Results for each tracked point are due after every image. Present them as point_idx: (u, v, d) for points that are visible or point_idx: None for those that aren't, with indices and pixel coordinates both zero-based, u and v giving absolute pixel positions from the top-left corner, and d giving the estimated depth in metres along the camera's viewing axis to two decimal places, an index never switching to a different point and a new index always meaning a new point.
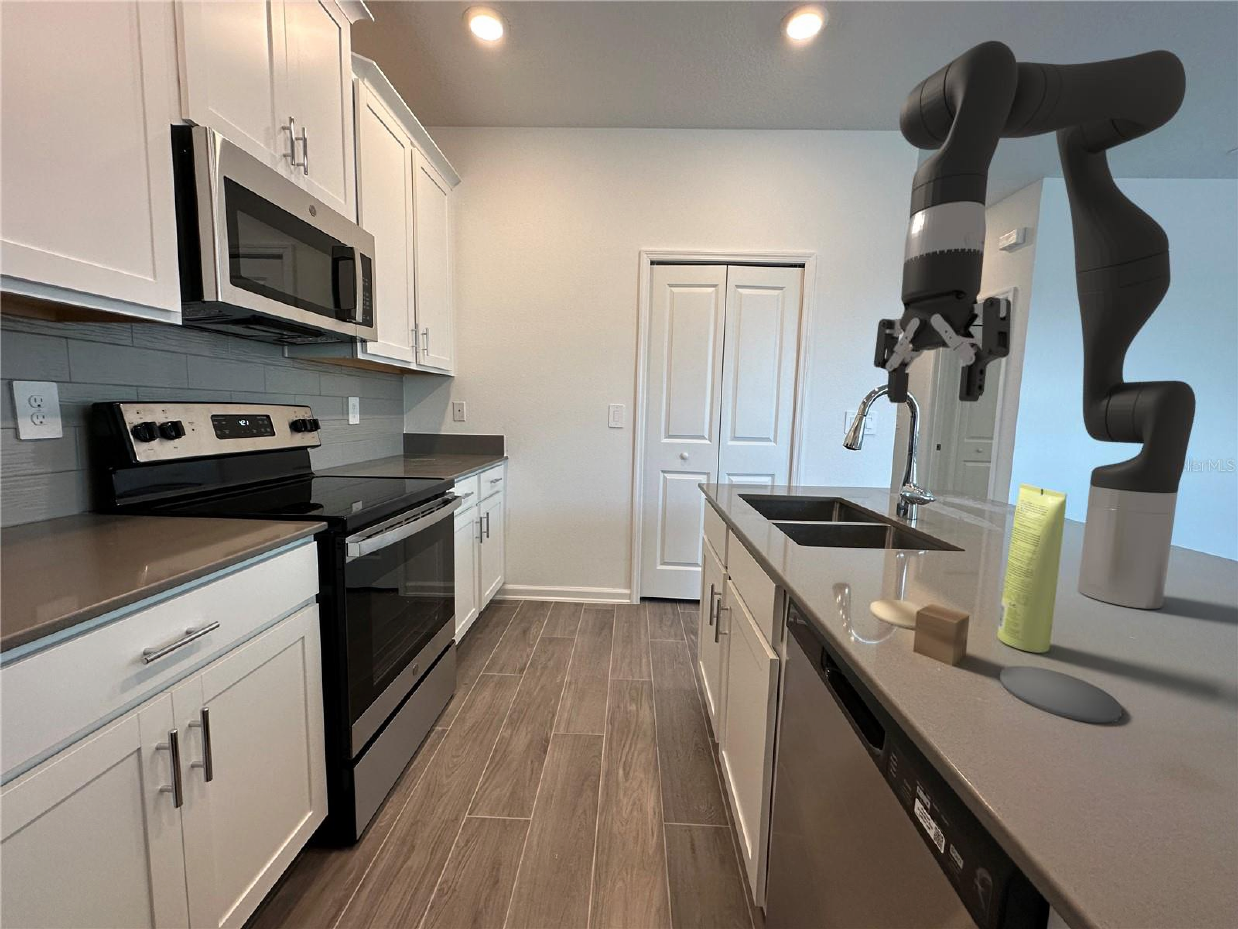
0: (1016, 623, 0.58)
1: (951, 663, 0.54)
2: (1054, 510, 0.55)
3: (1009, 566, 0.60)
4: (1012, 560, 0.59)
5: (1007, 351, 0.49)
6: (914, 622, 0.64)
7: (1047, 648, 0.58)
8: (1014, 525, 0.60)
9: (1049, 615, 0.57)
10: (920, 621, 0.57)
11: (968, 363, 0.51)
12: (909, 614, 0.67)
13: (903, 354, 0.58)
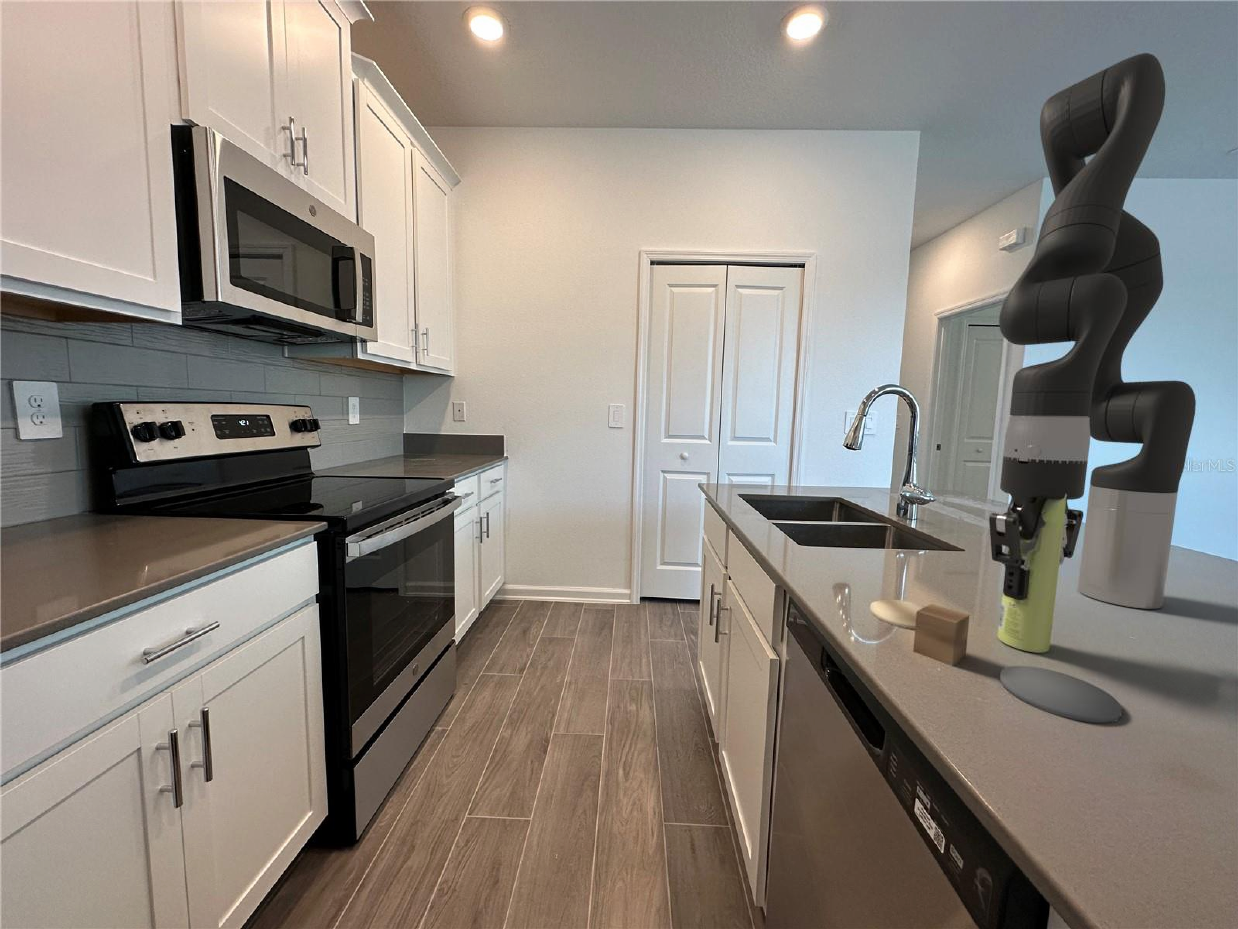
0: (1016, 623, 0.58)
1: (951, 663, 0.54)
2: (1054, 510, 0.55)
3: None
4: None
5: None
6: (914, 622, 0.64)
7: (1047, 648, 0.58)
8: None
9: (1049, 615, 0.57)
10: (920, 621, 0.57)
11: (1059, 563, 0.58)
12: (909, 614, 0.67)
13: None
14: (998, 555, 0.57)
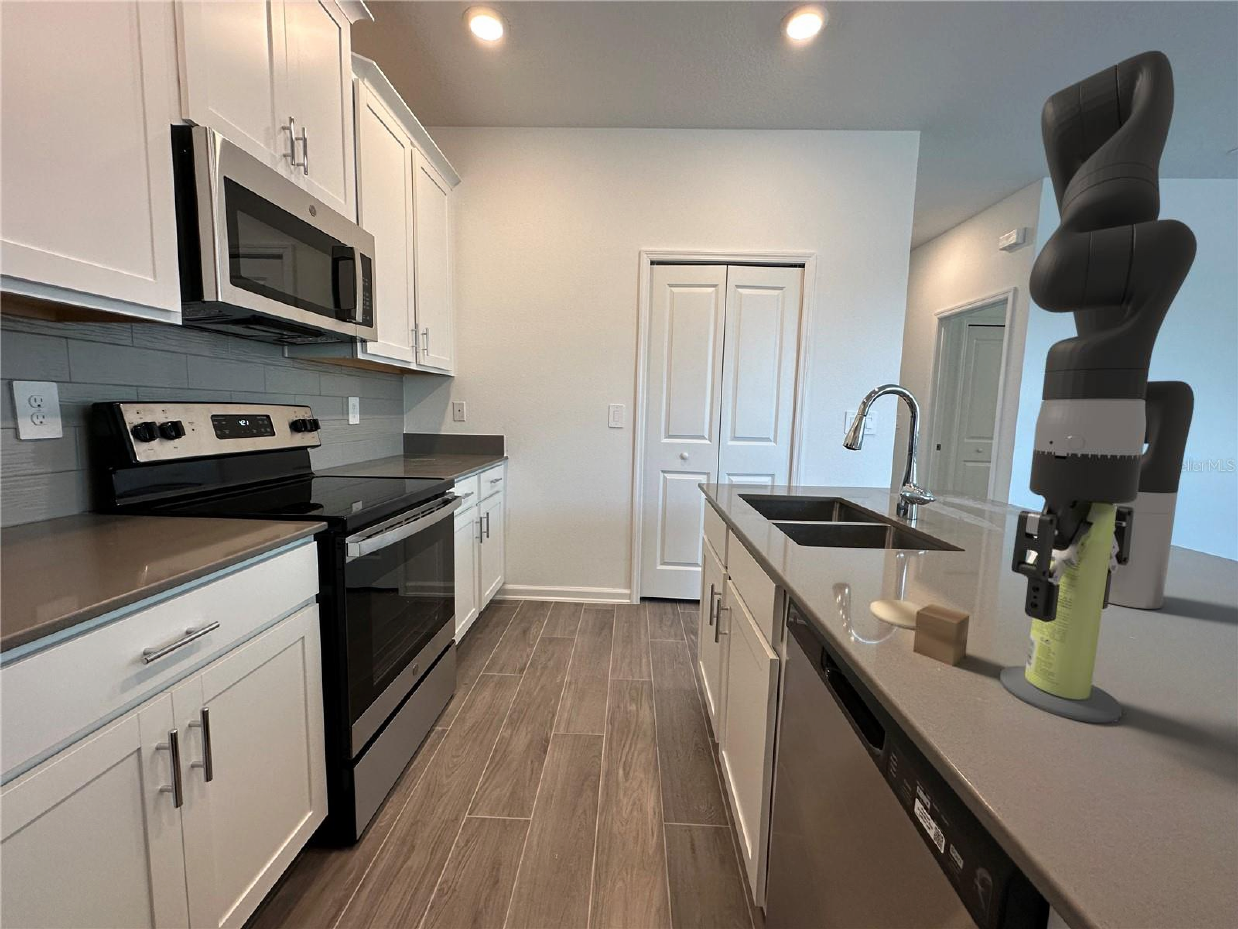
0: (1050, 663, 0.48)
1: (951, 663, 0.54)
2: (1100, 526, 0.44)
3: None
4: None
5: None
6: (914, 622, 0.64)
7: (1088, 694, 0.47)
8: None
9: (1091, 654, 0.46)
10: (920, 621, 0.57)
11: (1113, 572, 0.48)
12: (909, 614, 0.67)
13: None
14: (1020, 564, 0.45)
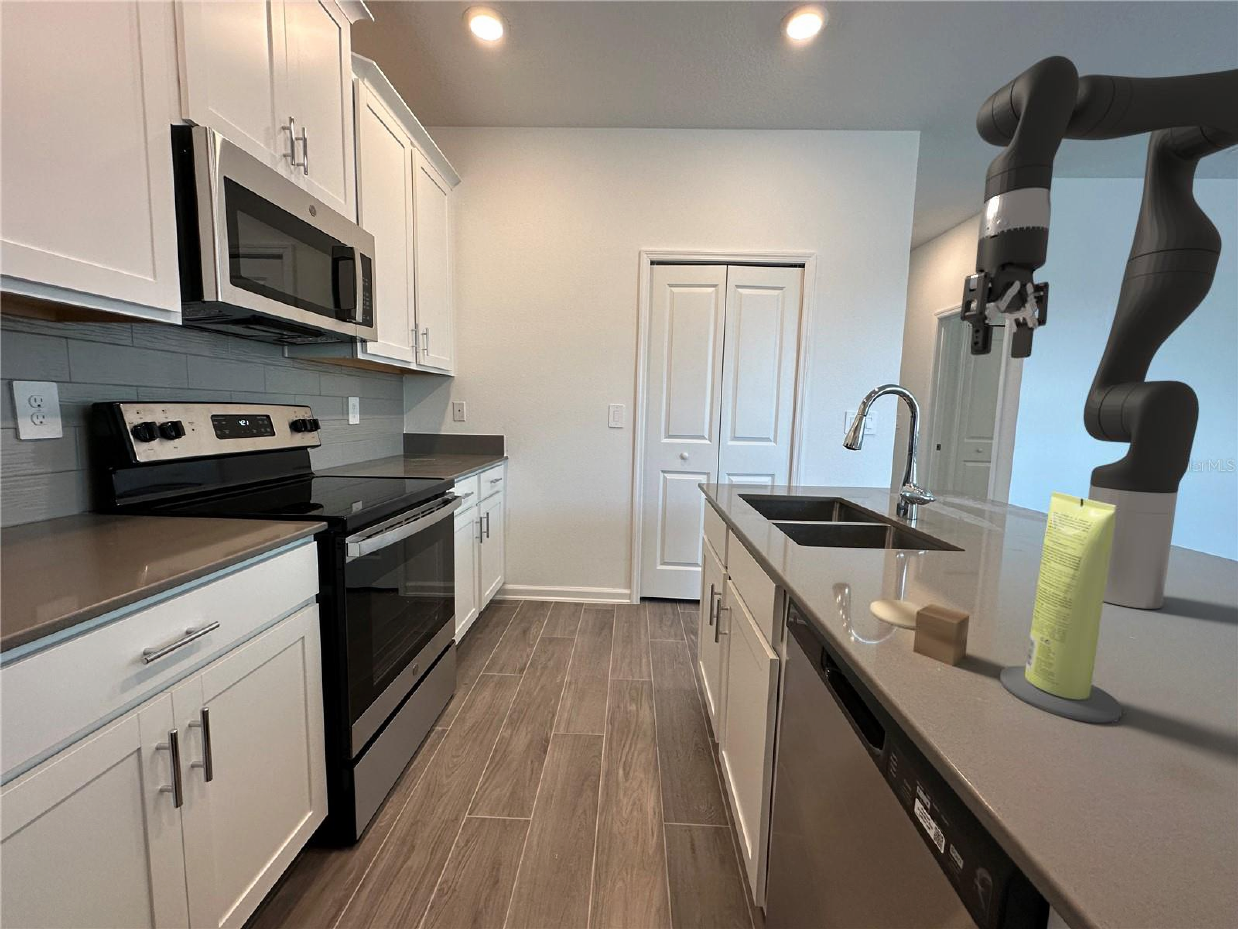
0: (1050, 663, 0.48)
1: (951, 663, 0.54)
2: (1100, 526, 0.44)
3: (1040, 593, 0.49)
4: (1045, 586, 0.48)
5: None
6: (914, 622, 0.64)
7: (1088, 694, 0.47)
8: (1046, 542, 0.49)
9: (1091, 654, 0.46)
10: (920, 621, 0.57)
11: (1034, 328, 0.68)
12: (909, 614, 0.67)
13: None
14: (966, 312, 0.65)
